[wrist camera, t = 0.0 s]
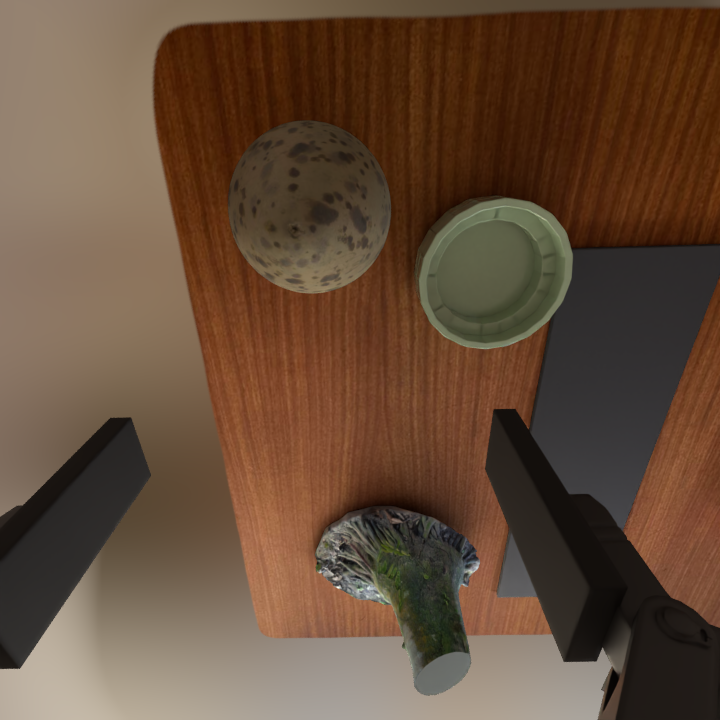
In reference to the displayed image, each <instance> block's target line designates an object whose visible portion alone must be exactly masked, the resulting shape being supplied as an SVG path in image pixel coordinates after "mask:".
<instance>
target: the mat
mask: <svg viewBox="0 0 720 720" xmlns="http://www.w3.org/2000/svg"><path fill="white" fill-rule="evenodd" d="M571 250H572V253H573V263H572V278H571V281H570V284H569V287H568V289H567V292H566V294H565V297H564V300H563V301H562V303H561V305H560V306H559V307H558V309H557V310H556V311H555V313H554V314H553V315H552V317H551V322H550V327H549V332H548V337H547V342H546V347H545V352H544V357H543V362H542V367H541V372H540V377H539V382H538V387H537V392H536V397H535V402H534V407H533V412H532V417H531V422H530V427H529V431H530V433H531V435H532V436H533V438H534V439H535V441H536V442H537V444H538V446H539V447H540V449H541V450H542V452H543V454H544V455H545V457H546V458H547V460H548V461H549V463H550V465H551V466H552V468H553V469H554V471H555V472H556V474H557V476H558V477H559V479H560V480H561V482H562V484H563V485H564V487H565V488H566V490H567V491H568V493H569V494H589V495H591V496H592V497H593V498H594V499H596V500H597V501H598V502H599V503H601V504H602V505H603V506H604V507H606V509H607V510H608V511H609V513H610V514H611V516H612V517H613V518H614V520H615V521H616V523H617V526H618V527H620V528H621V530H622V531H623V528H624V526H625V523H626V520H627V518H628V515H629V513H630V510H631V507H632V505H633V502H634V499H635V497H636V494H637V492H638V489H639V486H640V484H641V481H642V478H643V476H644V473H645V471H646V468H647V465H648V463H649V460H650V457H651V455H652V452H653V450H654V447H655V444H656V442H657V439H658V436H659V434H660V431H661V428H662V426H663V423H664V421H665V418H666V415H667V413H668V410H669V407H670V405H671V402H672V400H673V397H674V394H675V392H676V389H677V386H678V384H679V381H680V379H681V376H682V373H683V371H684V368H685V365H686V363H687V360H688V358H689V355H690V352H691V350H692V347H693V344H694V342H695V339H696V337H697V334H698V331H699V329H700V326H701V323H702V321H703V318H704V316H705V313H706V310H707V308H708V305H709V302H710V300H711V297H712V294H713V292H714V289H715V287H716V284H717V281H718V279H719V276H720V244H700V245H665V246H630V247H594V248H571ZM497 597H537V595H536V592H535V590H534V587H533V585H532V582H531V580H530V578H529V575H528V573H527V570H526V568H525V565H524V563H523V560H522V558H521V556H520V553H519V551H518V548H517V546H516V543H515V541H514V538H513V536H512V533H511V531H510V529H509V533H508V538H507V543H506V548H505V553H504V558H503V563H502V568H501V573H500V579H499V584H498V589H497Z"/></svg>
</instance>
